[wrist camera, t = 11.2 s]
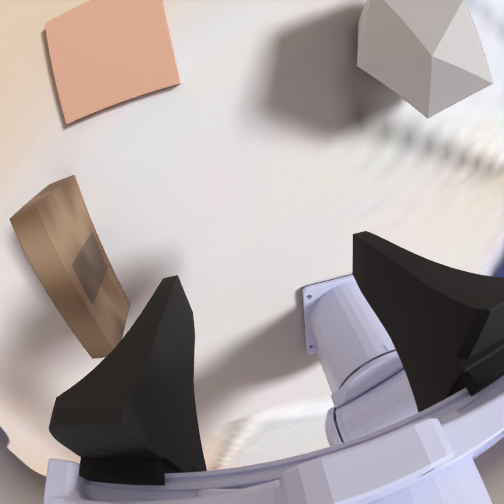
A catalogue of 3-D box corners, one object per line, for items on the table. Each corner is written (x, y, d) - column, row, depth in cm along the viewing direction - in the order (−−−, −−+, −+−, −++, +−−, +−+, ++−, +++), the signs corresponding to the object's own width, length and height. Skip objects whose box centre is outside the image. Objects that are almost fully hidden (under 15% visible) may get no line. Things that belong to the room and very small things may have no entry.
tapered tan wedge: (130, 302, 24) (118, 355, 19) (107, 307, 24) (92, 358, 19) (75, 173, 18) (37, 207, 13) (49, 184, 18) (9, 219, 13)
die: (323, 89, 18) (450, 166, 14) (312, -29, 10) (496, 29, 6) (385, 56, 20) (488, 114, 15) (387, -35, 12) (517, 16, 7)
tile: (180, 83, 16) (157, -24, 11) (66, 124, 15) (44, 23, 11) (181, 83, 17) (160, -18, 12) (73, 121, 16) (52, 25, 12)
